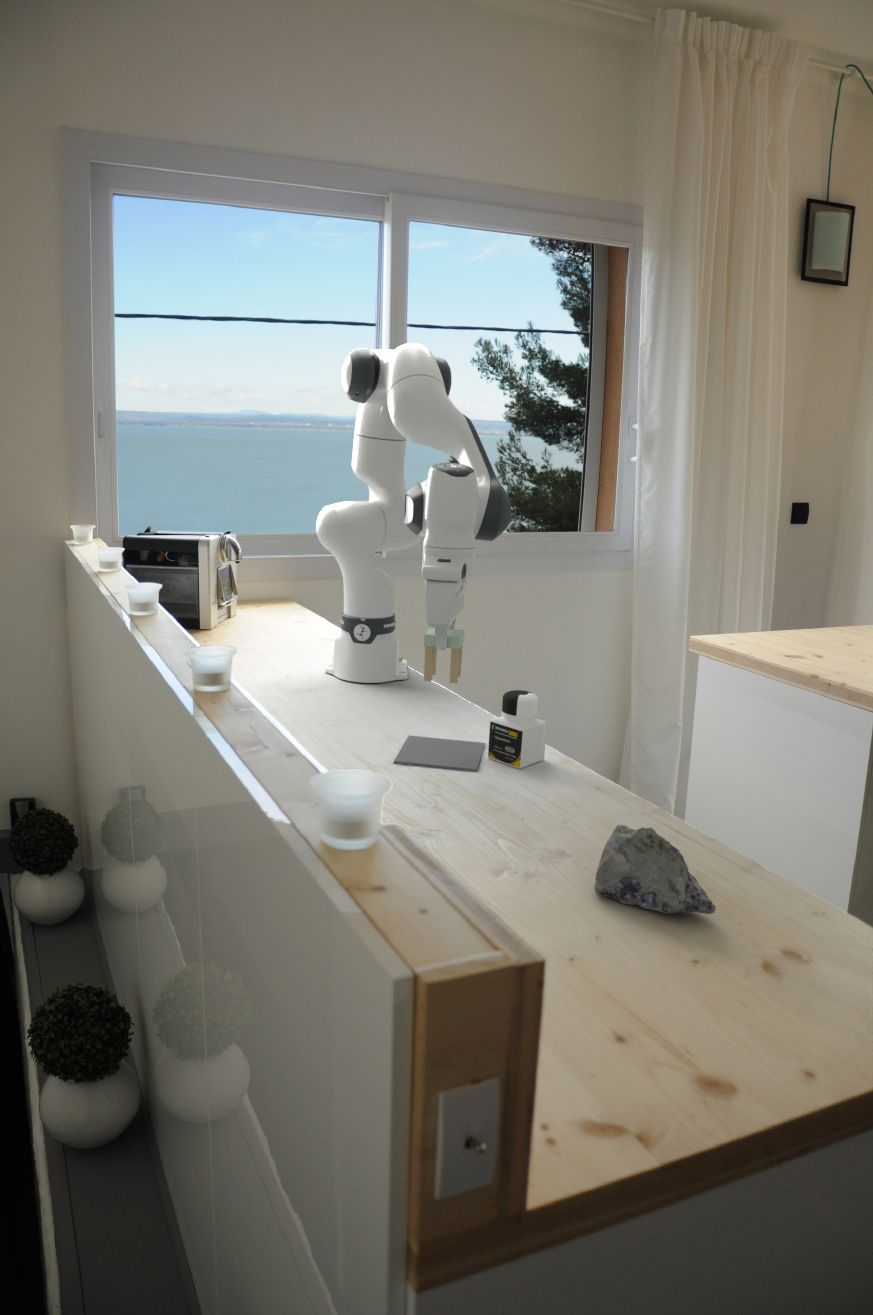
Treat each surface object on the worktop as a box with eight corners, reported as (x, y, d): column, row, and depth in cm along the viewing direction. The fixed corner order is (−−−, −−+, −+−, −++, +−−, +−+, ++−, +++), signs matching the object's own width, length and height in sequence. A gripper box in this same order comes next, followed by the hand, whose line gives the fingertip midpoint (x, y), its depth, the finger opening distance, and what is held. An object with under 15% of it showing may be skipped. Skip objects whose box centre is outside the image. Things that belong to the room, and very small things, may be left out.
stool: (428, 672, 165) (430, 627, 163) (462, 675, 164) (464, 630, 162) (422, 681, 159) (424, 634, 157) (457, 683, 158) (460, 637, 156)
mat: (408, 737, 173) (408, 735, 173) (485, 745, 171) (485, 742, 171) (393, 763, 159) (393, 760, 159) (476, 771, 157) (476, 769, 157)
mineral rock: (718, 927, 111) (729, 848, 109) (640, 941, 107) (649, 859, 105) (655, 878, 123) (663, 806, 120) (583, 889, 119) (590, 814, 116)
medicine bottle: (486, 758, 164) (491, 691, 161) (512, 749, 169) (517, 685, 166) (519, 769, 159) (524, 701, 156) (544, 760, 164) (550, 694, 162)
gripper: (439, 554, 168) (435, 631, 171) (419, 569, 148) (416, 656, 151) (474, 557, 167) (470, 633, 170) (459, 572, 147) (455, 659, 150)
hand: (444, 644), depth 160 cm, fingers closed on stool, 6 cm apart
